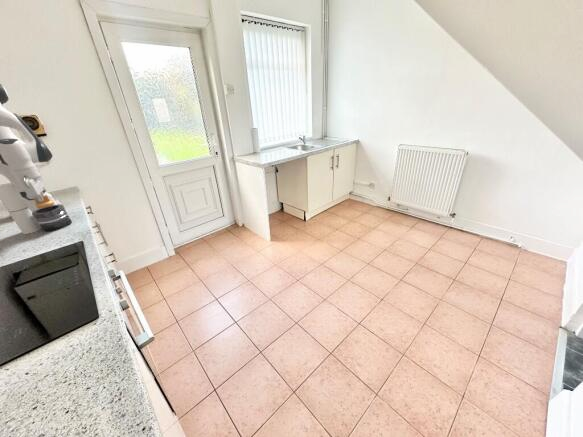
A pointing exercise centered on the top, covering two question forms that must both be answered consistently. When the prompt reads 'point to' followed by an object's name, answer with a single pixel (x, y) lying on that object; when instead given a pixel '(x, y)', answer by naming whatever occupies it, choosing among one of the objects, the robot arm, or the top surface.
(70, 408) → the top surface
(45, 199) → the cap
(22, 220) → the cylindrical container
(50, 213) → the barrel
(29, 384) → the top surface
